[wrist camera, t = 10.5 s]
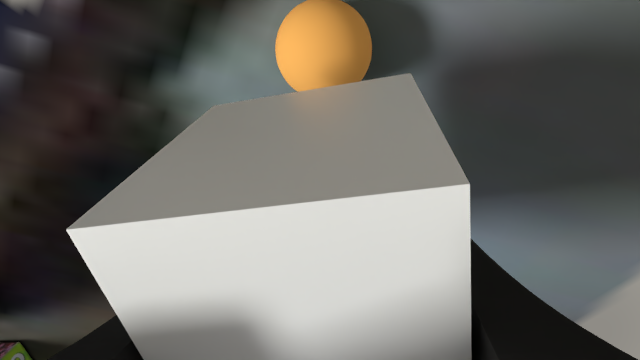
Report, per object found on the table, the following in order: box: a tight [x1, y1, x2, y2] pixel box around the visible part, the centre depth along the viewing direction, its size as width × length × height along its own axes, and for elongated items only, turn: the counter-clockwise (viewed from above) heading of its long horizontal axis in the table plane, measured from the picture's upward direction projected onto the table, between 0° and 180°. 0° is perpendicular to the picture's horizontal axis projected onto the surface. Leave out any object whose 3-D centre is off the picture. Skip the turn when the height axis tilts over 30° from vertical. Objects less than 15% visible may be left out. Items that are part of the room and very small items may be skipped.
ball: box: [275, 0, 372, 92], centre depth 16 cm, size 4×4×4 cm
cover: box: [66, 73, 472, 360], centre depth 10 cm, size 6×9×7 cm, turn 11°
